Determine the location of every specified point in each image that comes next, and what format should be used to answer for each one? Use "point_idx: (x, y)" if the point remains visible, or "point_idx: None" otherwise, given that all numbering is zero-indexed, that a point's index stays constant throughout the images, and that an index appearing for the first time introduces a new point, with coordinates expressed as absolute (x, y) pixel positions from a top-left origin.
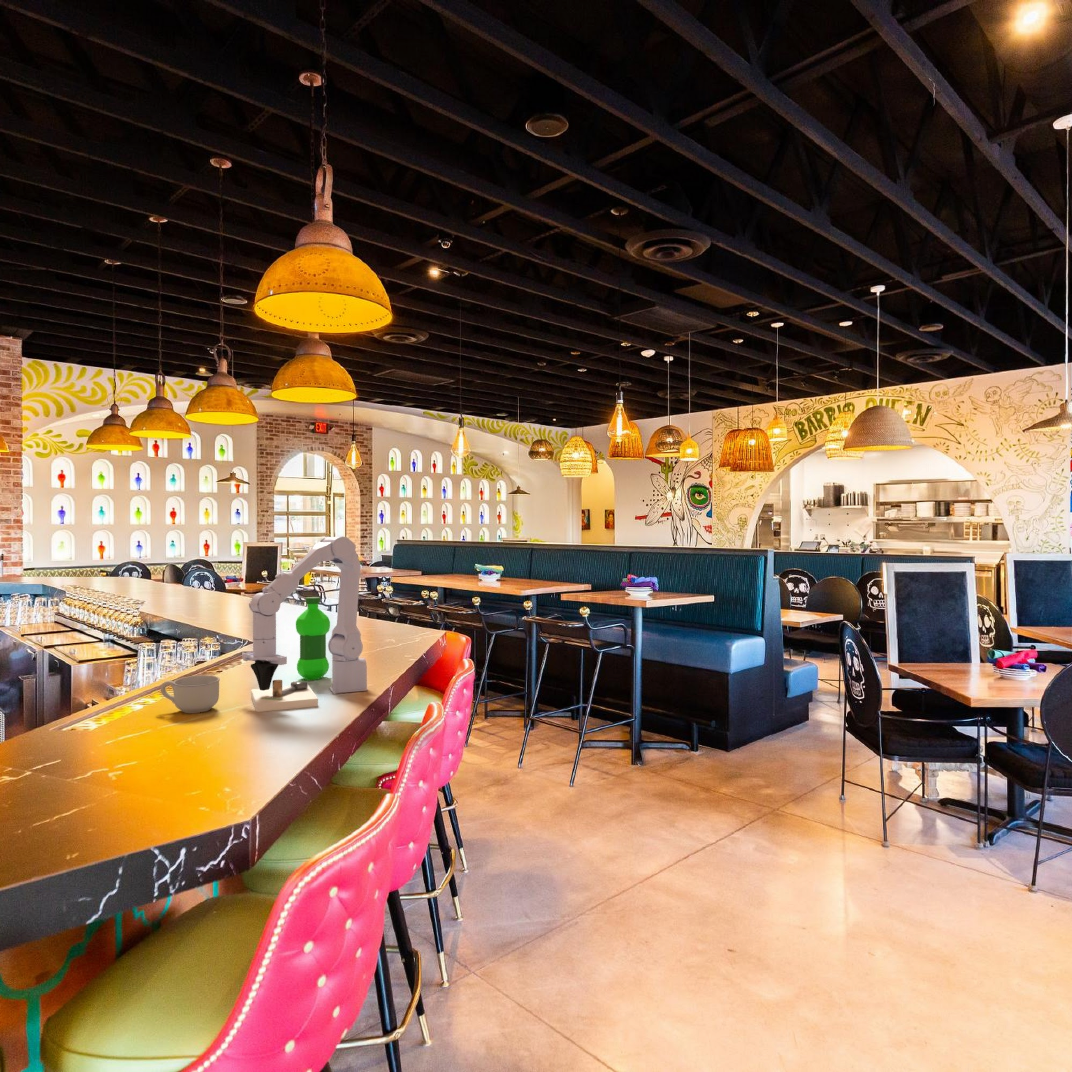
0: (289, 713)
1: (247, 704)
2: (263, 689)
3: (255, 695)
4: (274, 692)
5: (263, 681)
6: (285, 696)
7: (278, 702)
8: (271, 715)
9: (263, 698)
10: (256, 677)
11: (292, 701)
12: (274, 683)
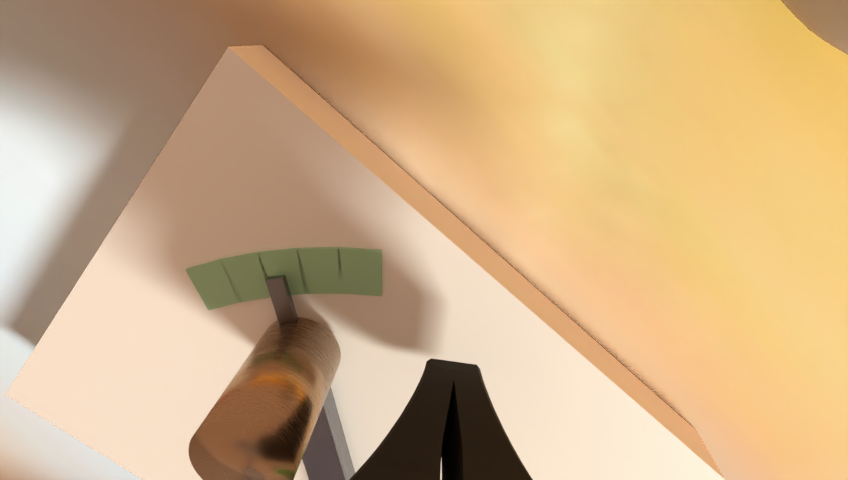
0: (6, 126)
1: (554, 240)
2: (426, 366)
3: (528, 330)
4: (279, 340)
5: (399, 418)
6: None
7: (129, 200)
8: (51, 5)
9: (353, 254)
10: (514, 457)
11: (84, 278)
12: (240, 403)
